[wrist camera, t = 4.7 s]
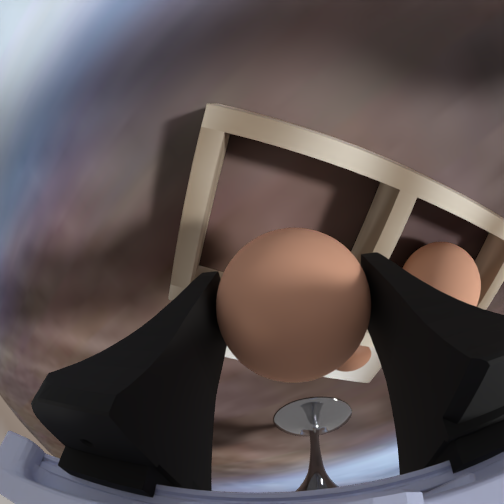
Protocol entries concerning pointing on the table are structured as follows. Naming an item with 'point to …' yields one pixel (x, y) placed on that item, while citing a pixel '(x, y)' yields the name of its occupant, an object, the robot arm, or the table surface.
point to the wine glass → (313, 431)
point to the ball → (447, 270)
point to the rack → (373, 229)
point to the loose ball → (293, 305)
